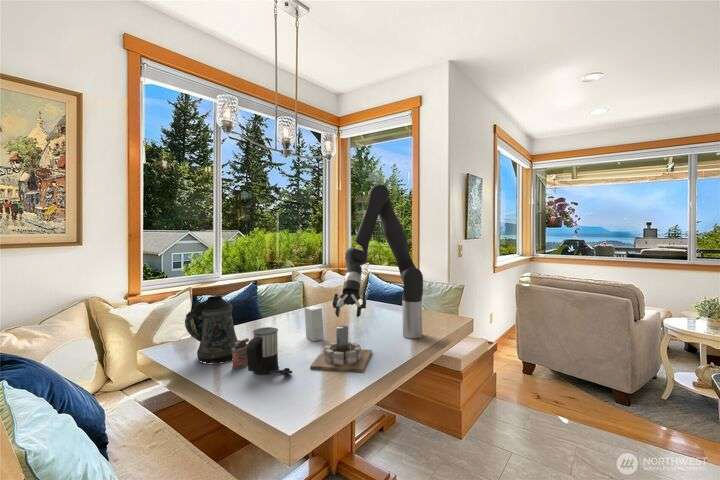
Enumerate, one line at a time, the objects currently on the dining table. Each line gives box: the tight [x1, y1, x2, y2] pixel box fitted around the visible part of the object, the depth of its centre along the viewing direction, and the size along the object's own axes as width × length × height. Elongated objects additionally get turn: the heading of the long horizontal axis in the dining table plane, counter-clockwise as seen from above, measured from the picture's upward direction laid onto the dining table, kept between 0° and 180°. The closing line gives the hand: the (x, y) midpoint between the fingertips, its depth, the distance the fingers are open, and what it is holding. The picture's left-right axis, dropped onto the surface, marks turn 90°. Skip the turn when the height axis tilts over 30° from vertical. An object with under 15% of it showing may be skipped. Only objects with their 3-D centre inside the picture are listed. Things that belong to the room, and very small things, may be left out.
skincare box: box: [304, 305, 325, 342], centre depth 163 cm, size 8×6×15 cm
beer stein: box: [184, 295, 239, 364], centre depth 139 cm, size 16×19×25 cm
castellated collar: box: [309, 341, 373, 373], centre depth 134 cm, size 20×20×5 cm
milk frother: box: [247, 326, 293, 377], centre depth 124 cm, size 14×16×15 cm
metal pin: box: [335, 325, 349, 359], centre depth 134 cm, size 5×5×12 cm
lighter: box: [231, 337, 250, 371], centre depth 130 cm, size 8×3×10 cm, turn 148°
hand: (347, 316), depth 142 cm, fingers open, 8 cm apart
